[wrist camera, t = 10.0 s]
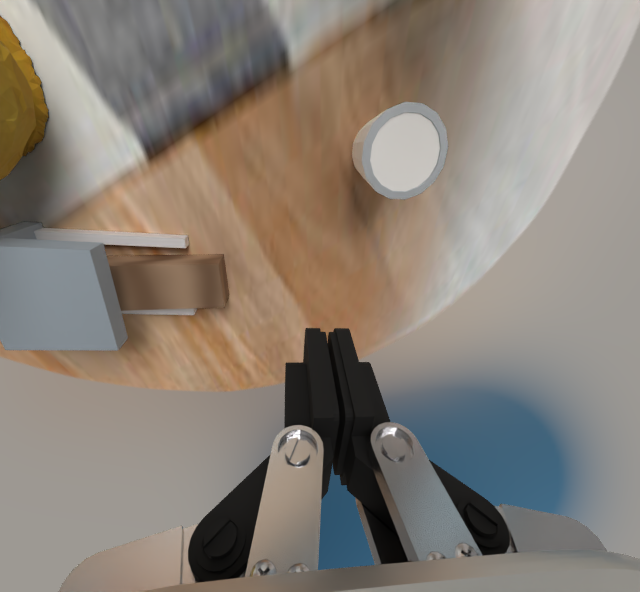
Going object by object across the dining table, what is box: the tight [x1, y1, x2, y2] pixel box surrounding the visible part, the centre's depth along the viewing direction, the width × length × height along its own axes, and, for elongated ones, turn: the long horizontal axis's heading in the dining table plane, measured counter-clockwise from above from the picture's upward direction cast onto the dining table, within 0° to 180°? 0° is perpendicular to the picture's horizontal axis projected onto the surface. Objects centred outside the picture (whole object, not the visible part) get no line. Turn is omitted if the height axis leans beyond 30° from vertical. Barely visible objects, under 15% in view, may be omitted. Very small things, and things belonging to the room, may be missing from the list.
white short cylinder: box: [352, 102, 448, 199], centre depth 26 cm, size 7×7×7 cm
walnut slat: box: [107, 254, 229, 311], centre depth 31 cm, size 17×5×3 cm, turn 89°
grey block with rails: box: [0, 222, 197, 350], centre depth 29 cm, size 15×10×7 cm, turn 85°
